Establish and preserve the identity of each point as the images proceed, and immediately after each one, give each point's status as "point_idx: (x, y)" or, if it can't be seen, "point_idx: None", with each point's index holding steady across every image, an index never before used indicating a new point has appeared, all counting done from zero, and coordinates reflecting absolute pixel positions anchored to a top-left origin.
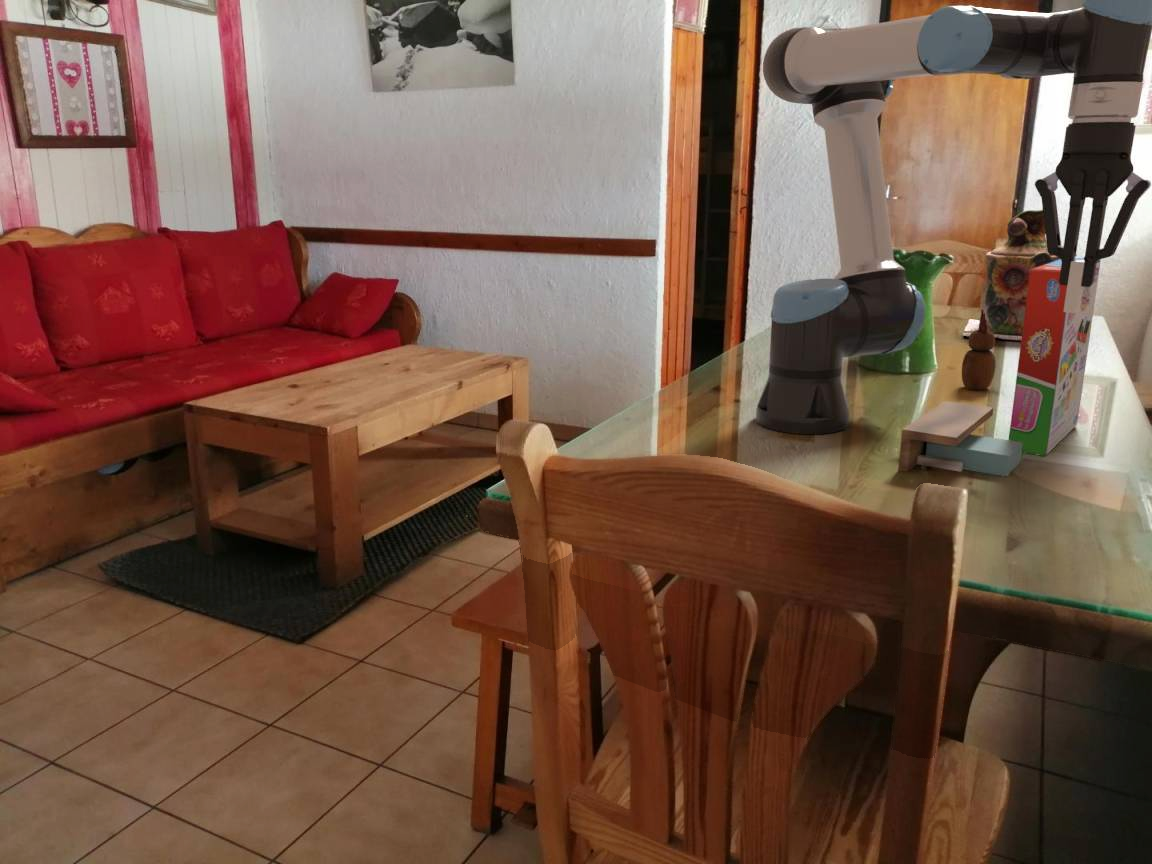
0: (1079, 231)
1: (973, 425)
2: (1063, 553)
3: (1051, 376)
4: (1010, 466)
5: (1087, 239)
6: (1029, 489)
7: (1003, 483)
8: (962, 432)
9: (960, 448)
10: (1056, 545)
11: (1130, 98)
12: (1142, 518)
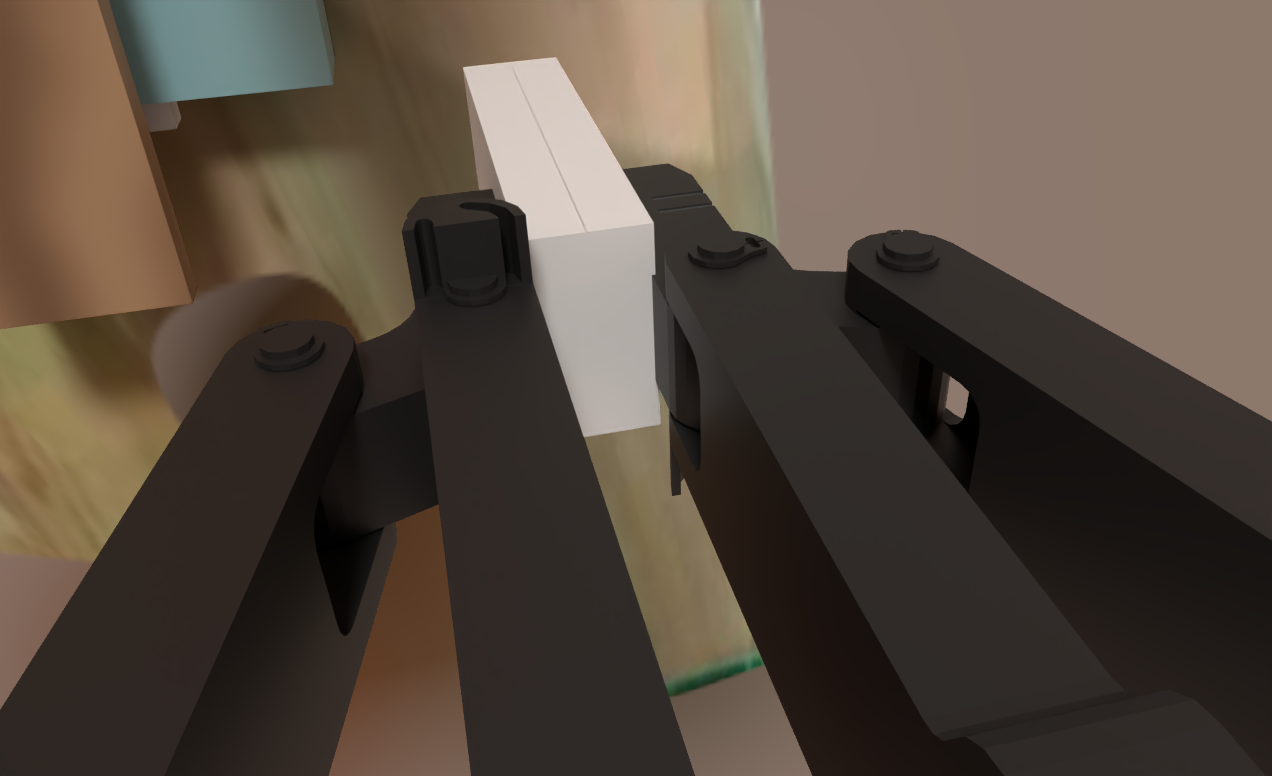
0: (589, 456)
1: (110, 34)
2: (655, 518)
3: None
4: (325, 24)
5: (726, 575)
6: (449, 146)
7: (358, 142)
8: (164, 218)
9: None
10: (634, 491)
11: None
12: (773, 186)
